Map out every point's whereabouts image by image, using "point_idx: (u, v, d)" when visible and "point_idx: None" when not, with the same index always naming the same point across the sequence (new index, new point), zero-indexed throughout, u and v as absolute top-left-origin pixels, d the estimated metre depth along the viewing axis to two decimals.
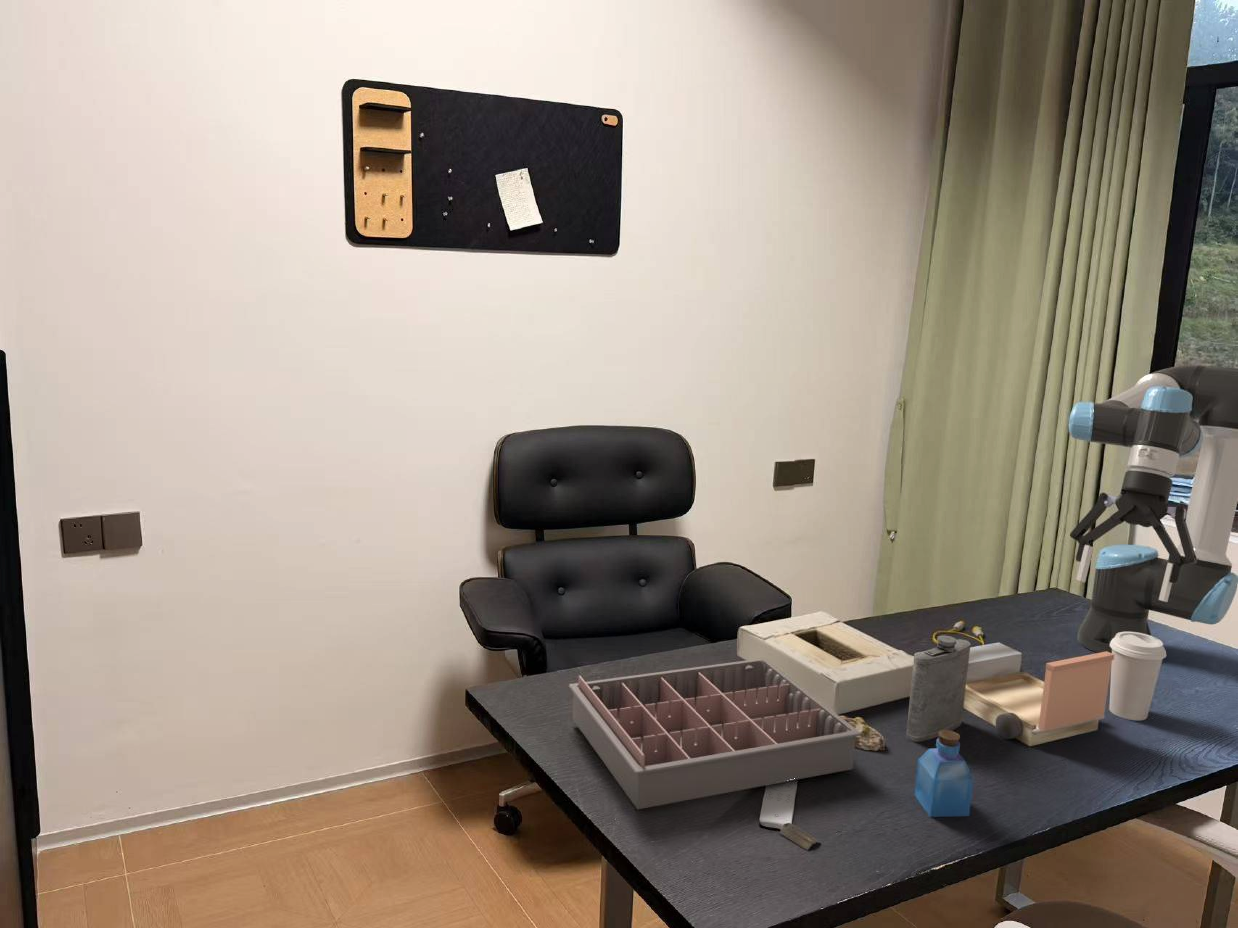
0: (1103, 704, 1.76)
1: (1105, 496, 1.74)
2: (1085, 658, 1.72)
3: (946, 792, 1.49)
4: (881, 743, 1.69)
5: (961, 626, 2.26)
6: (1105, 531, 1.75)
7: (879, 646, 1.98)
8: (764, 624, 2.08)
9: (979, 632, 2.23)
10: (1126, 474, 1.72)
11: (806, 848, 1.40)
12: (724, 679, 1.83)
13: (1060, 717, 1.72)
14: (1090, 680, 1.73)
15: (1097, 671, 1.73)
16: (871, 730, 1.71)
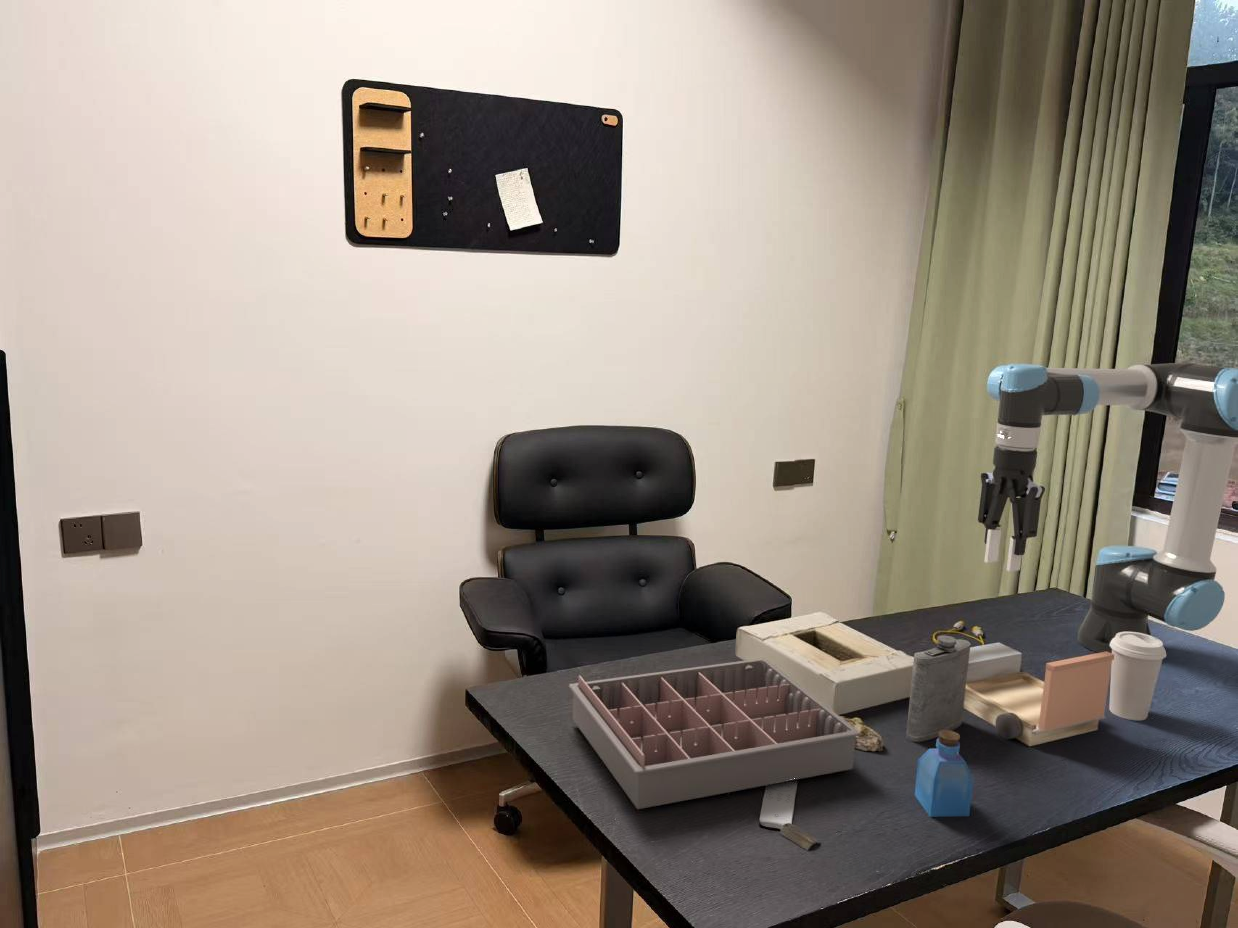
0: (1103, 704, 1.76)
1: (984, 475, 1.88)
2: (1085, 658, 1.72)
3: (946, 792, 1.49)
4: (879, 743, 1.68)
5: (961, 626, 2.26)
6: (1000, 508, 1.87)
7: (877, 647, 1.98)
8: (763, 625, 2.08)
9: (979, 632, 2.23)
10: None
11: (806, 848, 1.40)
12: (724, 679, 1.83)
13: (1060, 717, 1.72)
14: (1090, 680, 1.73)
15: (1097, 671, 1.73)
16: (869, 730, 1.71)
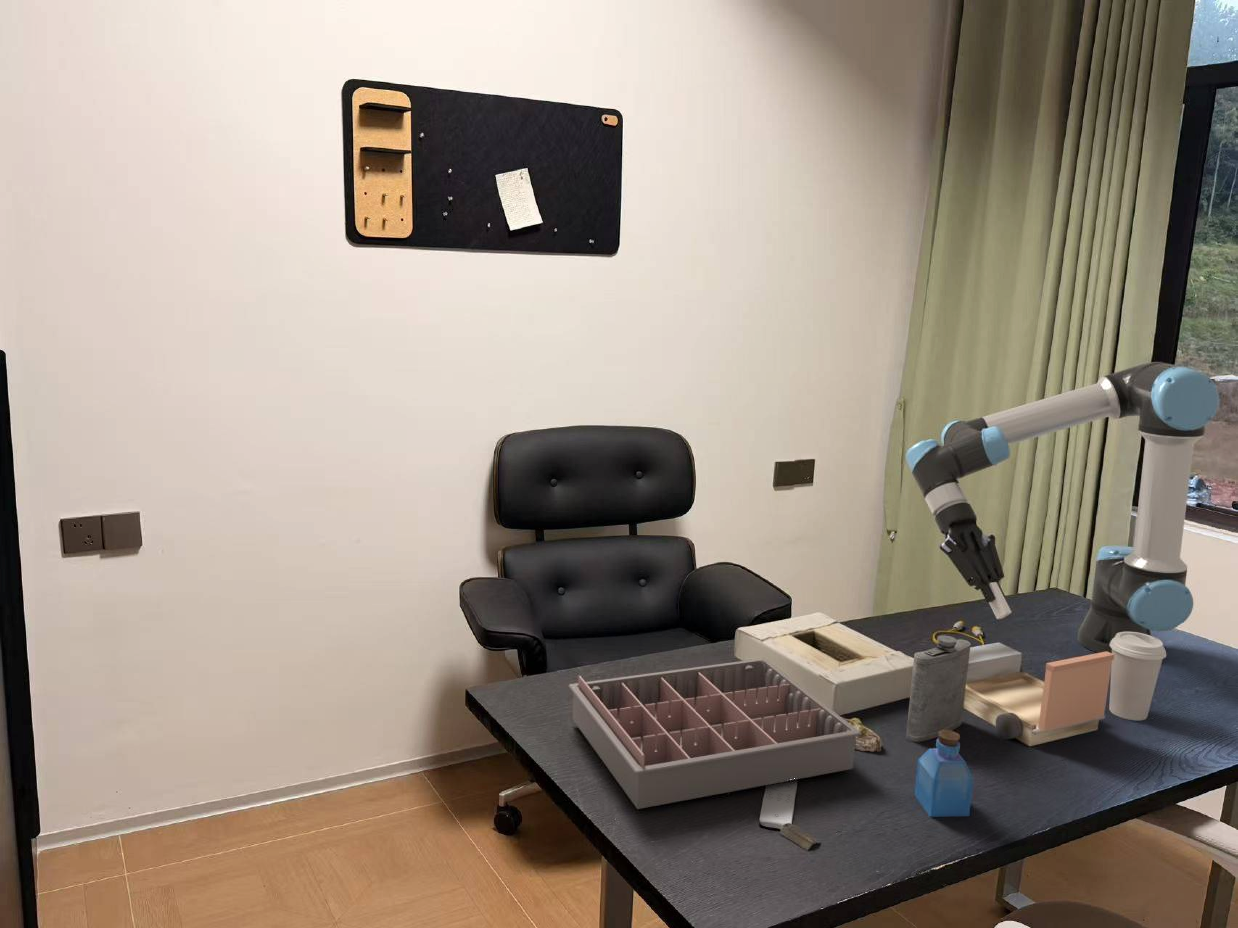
0: (1103, 704, 1.76)
1: None
2: (1085, 658, 1.72)
3: (946, 792, 1.49)
4: (878, 744, 1.68)
5: (960, 626, 2.26)
6: (982, 564, 1.92)
7: (877, 647, 1.98)
8: (762, 625, 2.08)
9: (979, 632, 2.23)
10: None
11: (806, 848, 1.40)
12: (724, 679, 1.83)
13: (1060, 717, 1.72)
14: (1090, 680, 1.73)
15: (1097, 671, 1.73)
16: (868, 731, 1.71)
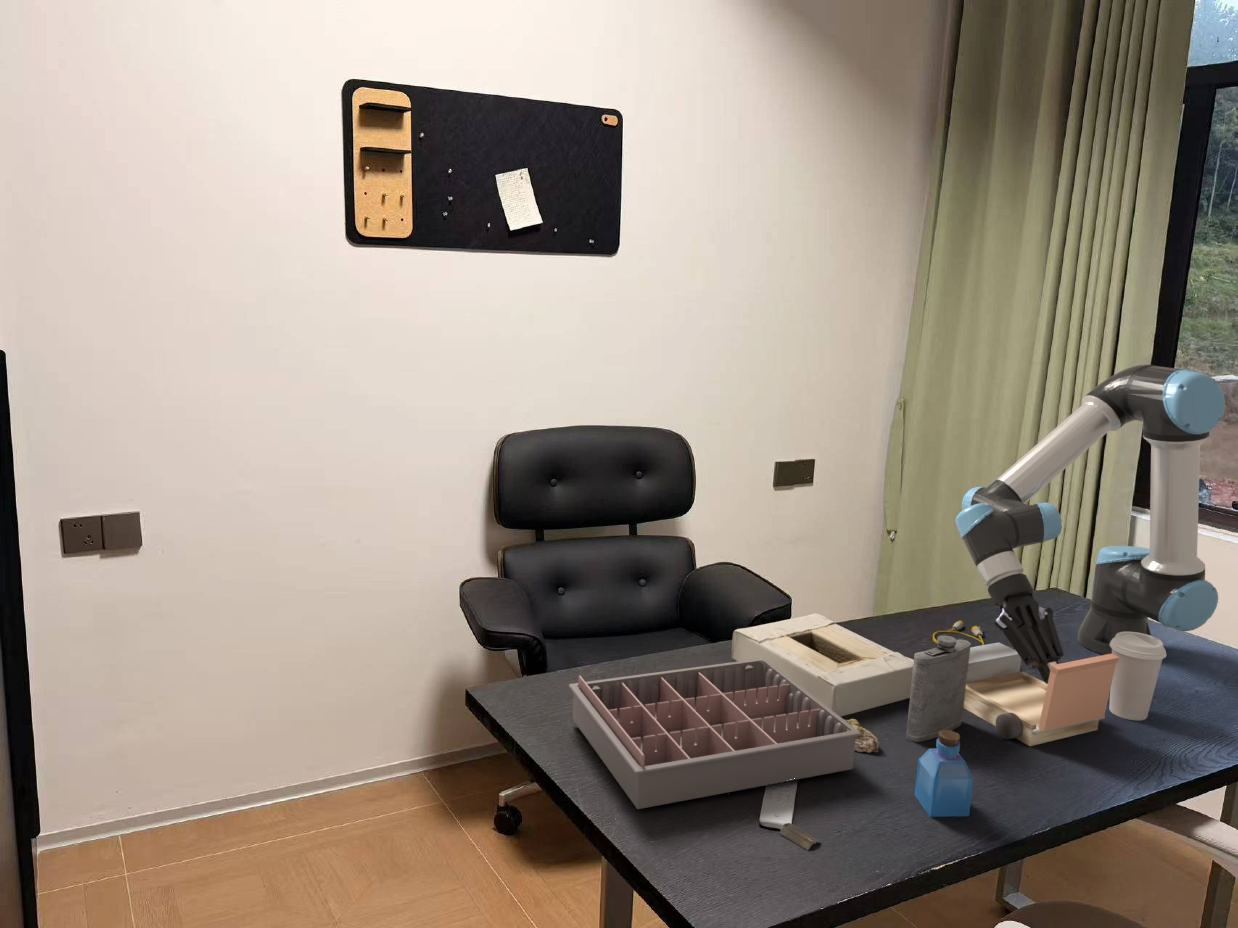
0: (1104, 705, 1.76)
1: None
2: (1090, 661, 1.71)
3: (946, 792, 1.49)
4: (875, 745, 1.68)
5: (960, 626, 2.27)
6: (1039, 640, 1.80)
7: (875, 648, 1.97)
8: (759, 627, 2.07)
9: (978, 631, 2.23)
10: None
11: (806, 848, 1.40)
12: (724, 679, 1.83)
13: (1061, 718, 1.72)
14: (1093, 682, 1.73)
15: (1101, 673, 1.73)
16: (865, 732, 1.70)
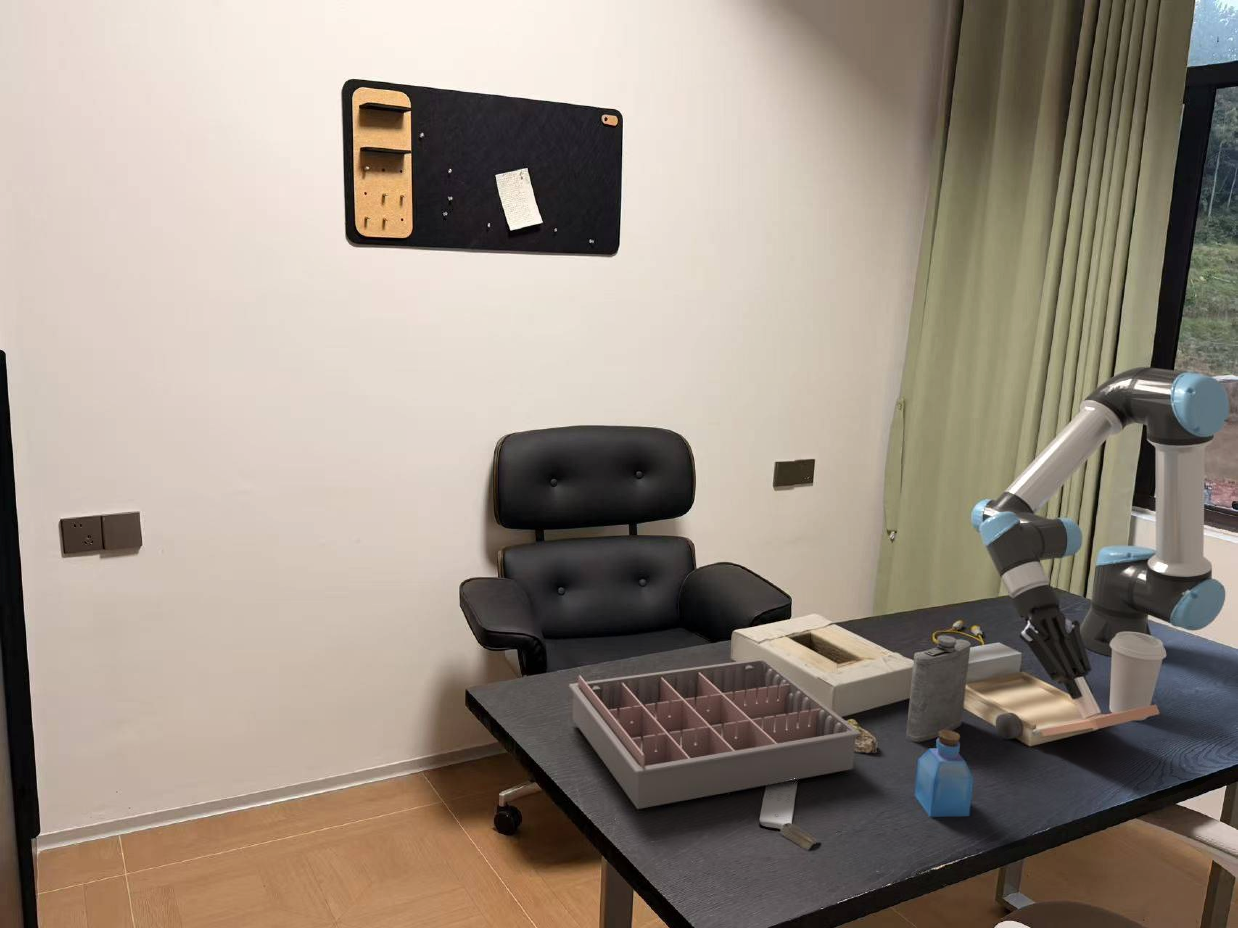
0: None
1: None
2: (1131, 716, 1.64)
3: (946, 792, 1.49)
4: (873, 745, 1.68)
5: (960, 625, 2.27)
6: (1066, 654, 1.74)
7: (874, 649, 1.97)
8: (758, 627, 2.06)
9: (978, 631, 2.23)
10: None
11: (806, 848, 1.40)
12: (724, 679, 1.83)
13: None
14: None
15: None
16: (864, 732, 1.70)
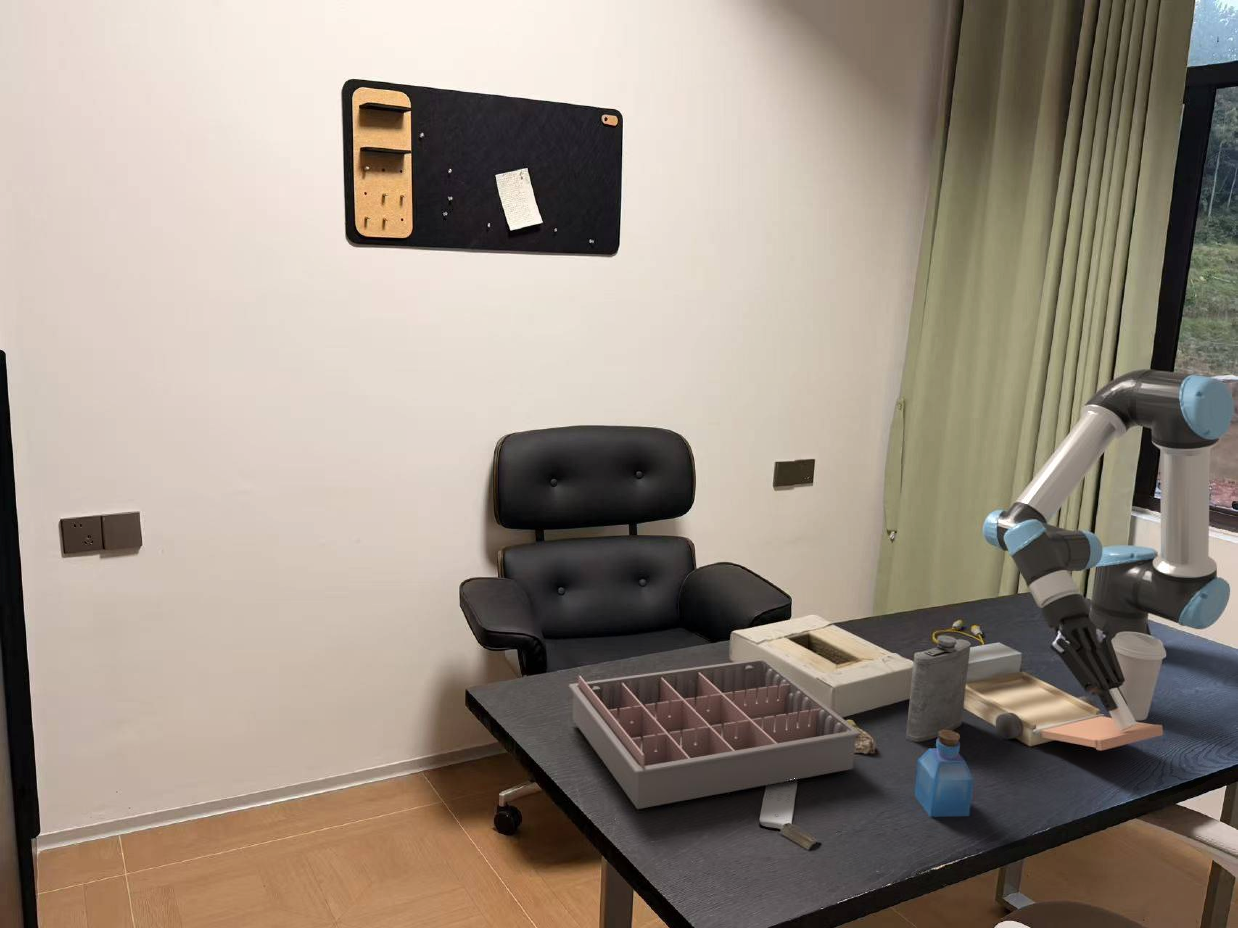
0: None
1: None
2: (1136, 737, 1.63)
3: (946, 792, 1.49)
4: (871, 746, 1.67)
5: (960, 625, 2.27)
6: (1098, 665, 1.69)
7: (873, 650, 1.97)
8: (757, 628, 2.06)
9: (978, 631, 2.23)
10: None
11: (807, 848, 1.40)
12: (724, 679, 1.83)
13: None
14: None
15: None
16: (862, 733, 1.70)
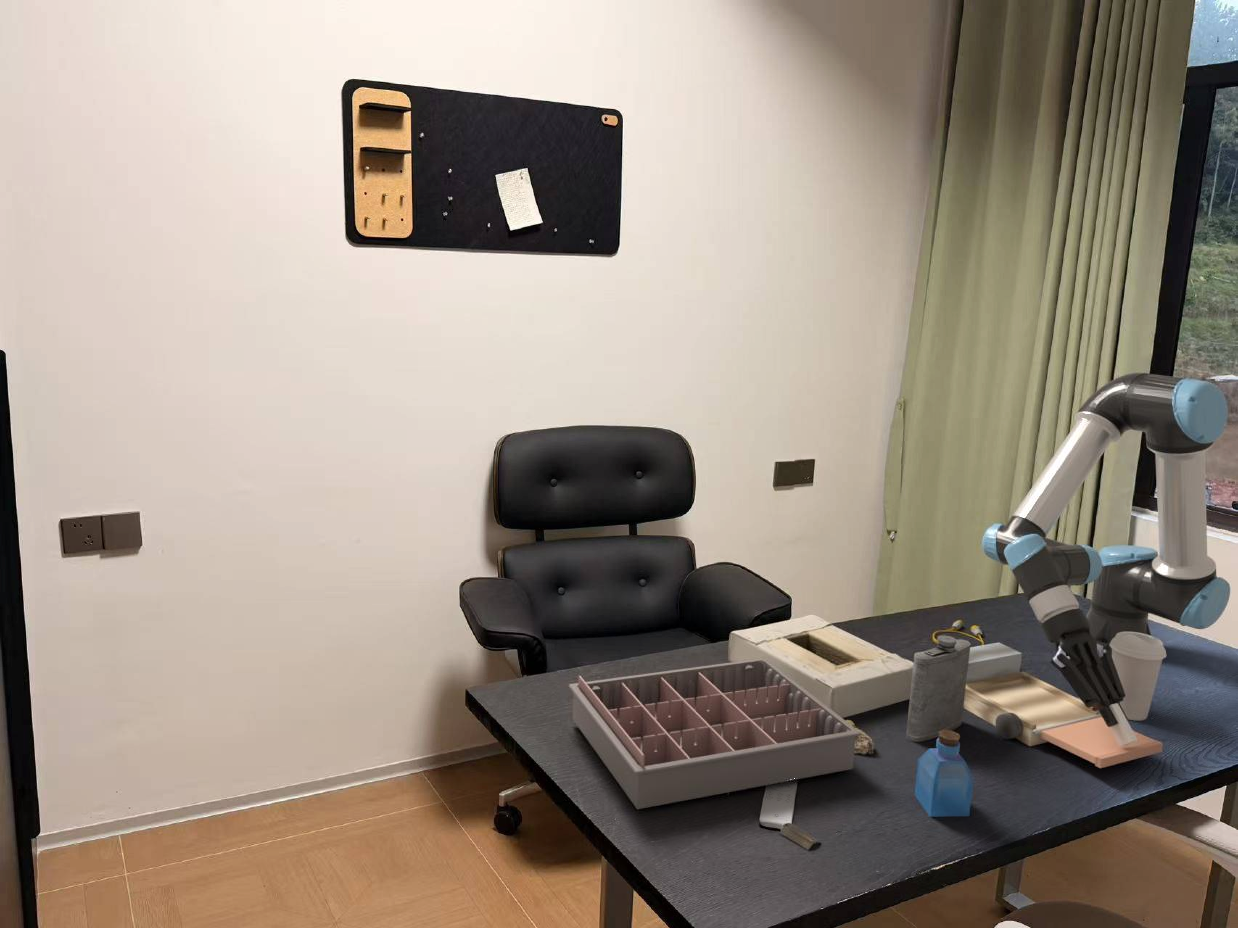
0: None
1: None
2: (1135, 755, 1.64)
3: (946, 792, 1.49)
4: (869, 746, 1.67)
5: (959, 625, 2.27)
6: (1099, 680, 1.69)
7: (872, 650, 1.96)
8: (755, 628, 2.06)
9: (978, 631, 2.23)
10: None
11: (807, 848, 1.40)
12: (724, 679, 1.83)
13: None
14: None
15: None
16: None
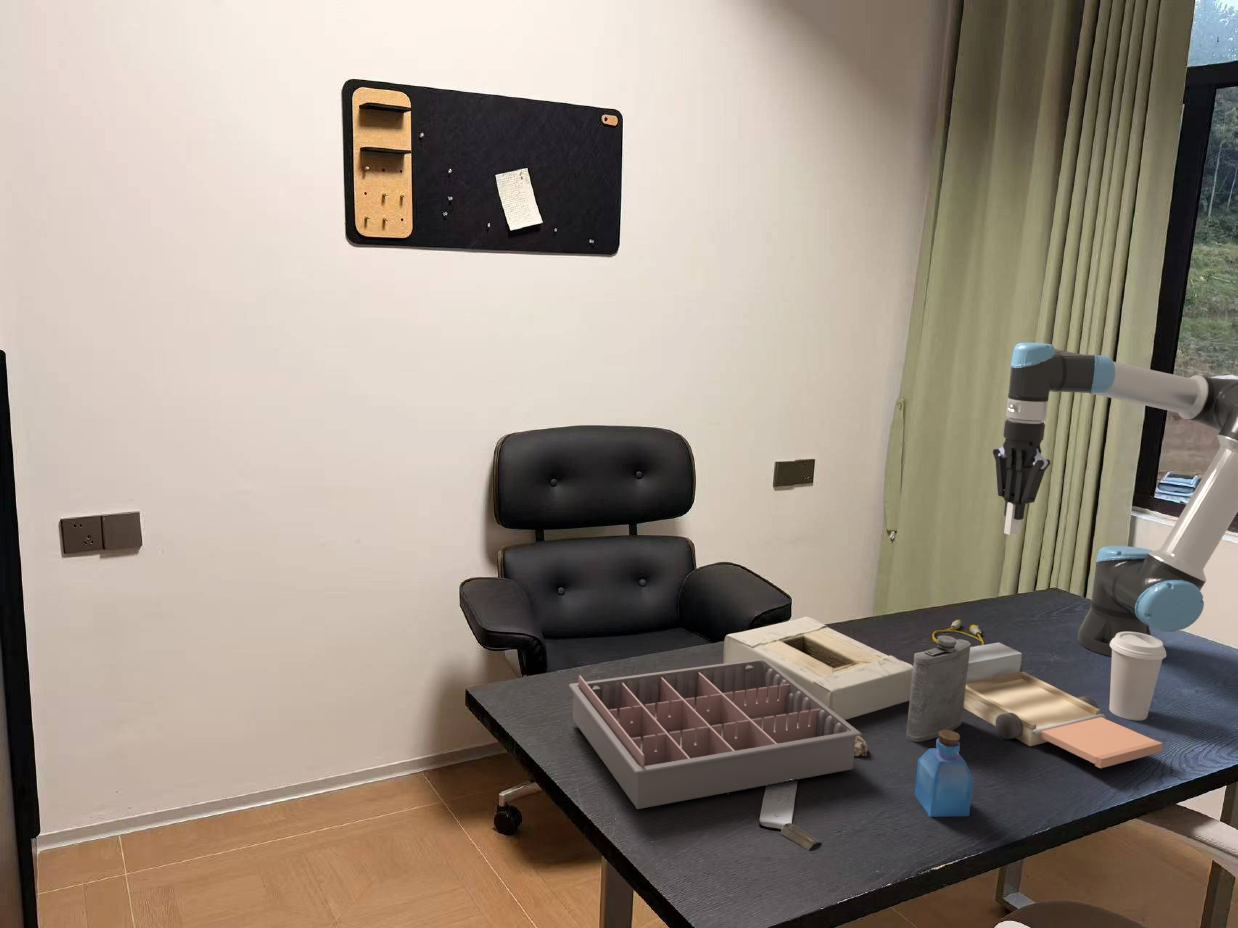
0: None
1: (996, 451, 2.01)
2: (1135, 755, 1.64)
3: (946, 792, 1.49)
4: (863, 748, 1.66)
5: (958, 625, 2.27)
6: (1015, 480, 1.99)
7: (868, 652, 1.95)
8: (751, 631, 2.04)
9: (977, 630, 2.23)
10: None
11: (807, 848, 1.40)
12: (724, 679, 1.83)
13: None
14: None
15: None
16: None
